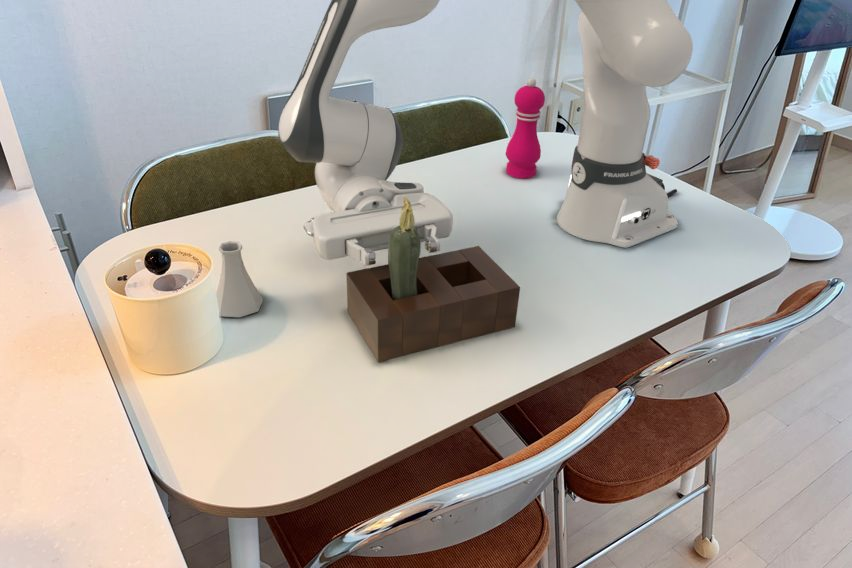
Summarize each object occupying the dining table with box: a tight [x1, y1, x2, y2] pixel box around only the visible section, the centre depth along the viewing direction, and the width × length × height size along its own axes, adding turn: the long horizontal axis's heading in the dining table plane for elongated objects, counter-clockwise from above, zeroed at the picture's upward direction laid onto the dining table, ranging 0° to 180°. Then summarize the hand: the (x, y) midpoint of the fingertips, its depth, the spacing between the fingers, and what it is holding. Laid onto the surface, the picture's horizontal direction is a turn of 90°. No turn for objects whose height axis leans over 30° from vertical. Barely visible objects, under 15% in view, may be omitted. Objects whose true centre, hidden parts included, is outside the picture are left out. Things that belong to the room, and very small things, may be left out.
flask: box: [216, 240, 264, 318], centre depth 100 cm, size 7×7×10 cm
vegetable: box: [387, 197, 422, 300], centre depth 95 cm, size 4×4×20 cm
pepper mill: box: [505, 77, 546, 180], centre depth 142 cm, size 7×7×20 cm
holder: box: [346, 245, 521, 363], centre depth 100 cm, size 21×12×7 cm, turn 114°
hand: (403, 254), depth 94 cm, fingers open, 8 cm apart
